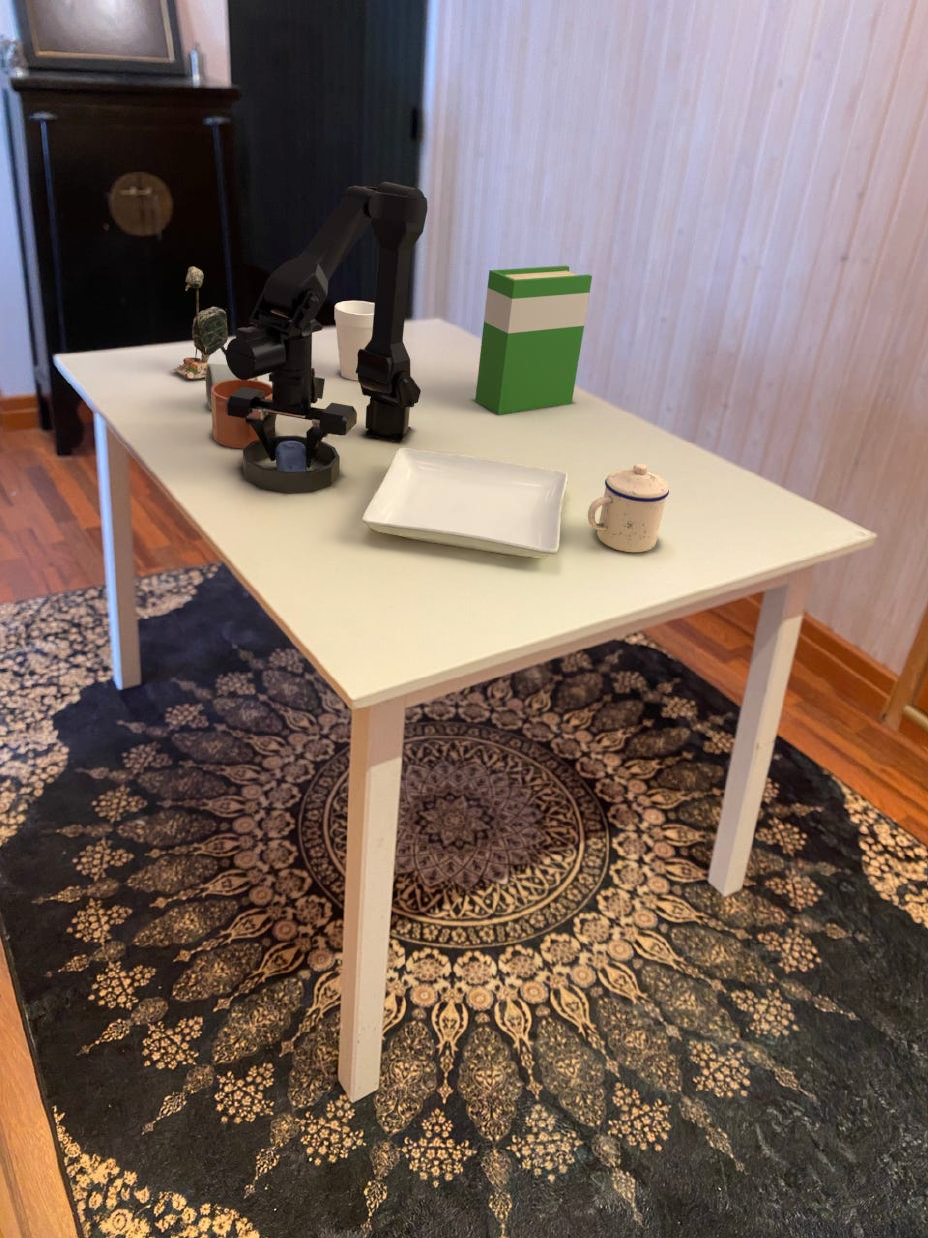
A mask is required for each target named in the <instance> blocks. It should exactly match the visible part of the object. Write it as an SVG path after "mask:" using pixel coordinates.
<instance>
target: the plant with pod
mask: <svg viewBox="0 0 928 1238" xmlns="http://www.w3.org/2000/svg"><path fill="white" fill-rule="evenodd" d="M203 282H204V273H203V270H201V269H199V268H198V267H196V266H190V267H188V269H187V273H186V276H185V283H187V284H186V286H185V289H184V290H185V291H186V292H187V291H188V290H189V288H193V289H195V300H196V305H195V306H196V311H195V312H196V314H195V317H194V318H193V324H192V325H191V328H192V331H191V335H192V341H193V346H194V347H195V356H194V357H184V358H183V360H182V361H183V363H182V364H179V365H178V366H176V367H174V368H173V369H172V371H176V372H178V373H179V374H180V375H182V376H183V377H184V379H194V380H195V379H196V380H198V379H202V378H206V368H207V366H208V364H209V363H208V361H209V359H210V356H211V355H213V354H214V353H216V352H217V351H218V350H221V351H222V353H223V355H224V356H225V351H226V350H227V348H225V344H226V343H227V342H228V338H229V331H228V323H227V322H228V315H227V312H226V311H227V310H228V309H227V308H226V309H225V310H224V309H223V308H220V307H217V306H211V307H210V308H206V309H204V310H201V311H200V312H199V310H200V309H199V308H200V302H199V301H200V297H199V296H200V295H199V293H200V292H199V289H200V288H201V287H202V285H203ZM198 351H199V352H200V353H201V356H200V357H201V358H200V357H197V355H198Z"/></svg>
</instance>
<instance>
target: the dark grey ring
mask: <svg viewBox="0 0 928 1238" xmlns="http://www.w3.org/2000/svg"><path fill="white" fill-rule="evenodd" d="M285 441H296V442H300V443H302V444H303V445H304V446H305V448H306V436H301V435H296V434H295V435H293V434H292V435H276V447H277V446H278V445H279V444H280V443H282V442H285ZM268 458H269V456H268V454H267V452H266V450H265V448H264V446H263V444H262V442H261V440H260V439H259V440H255V441H252V442H251V443H250V444H249V445H248V446H247V447H245V448H244V449H242V471H243V475H244V478H245V480H246V481H247V482H249V483H251V484H252V485H254V486H256V487H258V488H260V489H263V490H267V491H274V492H279V493H283V494H296V493H297V494H299V493H313V492H316V491H319V490H322V489H325V488H328V487H331V486H332V485H334V483H335V482H336V480H338V479H339V477H340V463H341V462H340V460H341V457H340V455H339V453H338V451H337V448H336V447H335V446H333V445H331V444H329V443H327V442H326V441H323V440H322V441H321V443H320V445H319V448H318V451H317V453H316V456H315V458H314V460H317V461H319V462H321V463H323V464H325V466H321V467H319V468H315V469H312V470H305V471H296V472H284V471H279V470H278V469H274V468H268V467H264V466H263V465H260V464H258V463H257V461H258V462H259V461H261V460H265V459H268Z"/></svg>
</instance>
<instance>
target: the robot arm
mask: <svg viewBox="0 0 928 1238" xmlns="http://www.w3.org/2000/svg"><path fill="white" fill-rule="evenodd" d="M428 208H429V207H428V199H427V197H425V195H424V192H423V191H422V190H420V189H419V188H416V187H410V186H406V185H402V184H397V183H394V182H388V181H382V182H381V183H380V184H379V185H377V186H376V187H374V186H359V185H353V186H349V187H347V188H346V189H345V191H344V193H343V196H342V200H341V202H340V203H339V204H338V206H336V208H335V209H334V210H333V212H332V213H331V215H330V216H328V219H327V220H326V221H325V223H323V225H322V226H321V228H320V229H319V230H318V232H317V233H316V235H315V236H314V237H313V238H312V239H311V241H310V243H308V245H307V246H306V248H305V249H304V250H303V251H302V252H301V253H300V254H299V255H298V256H297V257H294V258H292V259H290V260H288V261H286V262H284V263H282V264H281V265H280V266H279V267H278V268H277V269H276V270H275V271H274V272H272V273H271V274H270V275H269V277H268V278H267V280H266V281H265V283H264V285H263V289H262V291H261V293H260V295H259V298H258V300H257V302H256V304H255V306H254V309H253V310H252V313H251V315H250V317H249V319H248V322H249V324H250V325H251V324H252V326H248V327H239V328H236V329H235V337H234V338H232V339H230V340H229V342H228V344H227V347H226V351H225V355H224V356H225V361H226V365H228V367H229V369H230V371H231V372H232V374H233V375H234V376H235V377H237V378H238V379H240V380H248V379H252V378H255V377H258V378H259V377H262V376H266V375H268V382H270V383H271V386H272V400H269V399H265V393H264V392H263V390H258V389H252V388H246V387H241V388H240V389H239V390H237V391H236V392H235V393H233V394H232V395H231V396H229V397H228V398H227V401H226V414H227V415H228V416H233V417H239V418H245V417H247V418H246V419H245V423H246V424H250V425H251V426H252V428H253V429H254V431H255V433H256V434H257V436H258V437H259V439H260V440H261V442H262V444H263V446H264V448H265V450H266V452H267V454H268V456H269V457H268V458H269V460H270V462H272V463H273V462H276V460H275V449H276V436H277V435H276V421H277V415H280V416H283V417H284V416H285V417H290V418H295V419H302V420H306V421H311V424H312V426H311V427H309V428H308V429H307V431H306V432H305V433H306V434H305V437H306V465H307V468H306V469H311V467H312V466H313V464H314V461H315V459H314V458H315V456H316V453H317V451H318V448H319V445H320V443H321V441H323V439H324V438H327V437H328V436H329V435H333V436H338V437H339V436H340V437H343V436H347V434H349V432H350V431H351V430H353V428H354V427H355V426H356V425H357V423H358V412H357V410H356V409H355V407H354V406H353V405H349V404H343V403H337V402H330V403H329V404H328V405H327V406H326V407H325V408H319V407H315V406H312V404H316V403H317V402H318V401H319V400H323V398H324V389H325V383H326V378H323V377H317V376H316V371H315V368H314V367H313V334H314V333H316V332H320V331H322V330H323V329H324V328H323V327H324V326H323V325H322V324H321V323H320V322H319V321H318V320H316V318H315V317H317V315H318V314H319V312H320V310H321V308H322V306H323V304H324V303H325V301H326V299H327V298H328V293H329V291H328V290H329V281H330V279H331V278H332V276H333V274H334V273H335V271H336V270H337V268H338V267H339V266H340V265H341V263H342V262H343V260H345V258H346V257H347V256H348V254H349V252H350V251H351V250H352V248H353V247H354V246H355V244H356V243H357V242H358V241H359V239H360V238H361V237H362V235H363V234H364V232H365V231H366V229H367V228H368V227H369V226H371V229H372V231H373V233H374V237H375V238H376V241H377V243H378V253H377V254H378V255H377V266H376V267H377V269H376V280H375V295H374V303H375V305H374V318H373V330H372V338H371V340H370V341H369V343H368V344H367V346H366V347H365V348H364V349H359V351H358V353H357V356H358V363H357V368H356V372H355V373H357V374H358V380H357V381H358V383H359V385H360V390H361V394H362V395H363V396H365V397H366V396H367V397H368V398H369V397H370V398H369V403H368V404H367V405H366V407H365V427H364V428H365V430H366V431H365V432H364V436H365V437H367V438H373V439H379V440H383V441H384V440H385V441H390V442H395V443H402V442H403V441H404V440H405V438H406V437H407V436H408V434H409V433H410V432H411V431H412V427H411V426H409V423H410V408H414V407H415V404H418V403H419V401H420V397H421V394H422V393H421V392H422V390H421V388H420V386H419V385H418V384H417V383H416V381H415V380H414V378H413V377H412V376H411V357H410V356H409V353H408V350H407V348H406V345H405V344H404V333H405V332H404V331H405V322H406V321H405V320H406V310H407V298H408V297H407V296H408V287H409V277H410V268H411V257H412V249H413V247H414V246H415V244H416V243H417V242H418V240H419V239H420V238H421V236H422V234H423V233H424V229H425V224H426V218H427V214H428ZM271 313H273V314H274V315H277V316H281V317H285V318H287V319H290V320H287V319H283V318H280V317H277V316H274V315H271Z"/></svg>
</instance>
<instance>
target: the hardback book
mask: <svg viewBox="0 0 928 1238" xmlns="http://www.w3.org/2000/svg"><path fill="white" fill-rule="evenodd" d="M592 280H593V275H592V274H576V273H573V272H571V271H570V266H569V265H553V266H551V265H550V266H539V267H538V266H536V267H523V268H522V267H521V268H505V269H504V268H503V269H490V270H489V271H488V280H487V287H486V289H487V290H486V299H485V306H484V318H483V324H482V334H481V336H482V337H481V343H480V344H481V345H480V352H479V353H480V354H479V362H478V373H477V381H476V391H475V400H474V401H475V402H476V403H478V404H480V405H482V406H483V407H485V408H487V409H488V410H490V411H491V412H493V413H494V414H497V415H503V414H504V415H505V414H509V413H517V412H523V411H529V410H535V409H542V408H548V407H556V406H562V405H568V404H572V403H573V399H574V392H575V386H576V385H575V384H576V379H577V373H578V366H579V360H580V354H581V347H582V343H583V337H584V336H583V335H584V330H585V323H586V316H587V310H588V304H589V299H590V292H591V287H592V286H591V285H592Z"/></svg>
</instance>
